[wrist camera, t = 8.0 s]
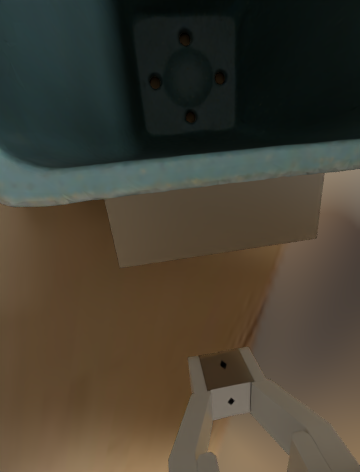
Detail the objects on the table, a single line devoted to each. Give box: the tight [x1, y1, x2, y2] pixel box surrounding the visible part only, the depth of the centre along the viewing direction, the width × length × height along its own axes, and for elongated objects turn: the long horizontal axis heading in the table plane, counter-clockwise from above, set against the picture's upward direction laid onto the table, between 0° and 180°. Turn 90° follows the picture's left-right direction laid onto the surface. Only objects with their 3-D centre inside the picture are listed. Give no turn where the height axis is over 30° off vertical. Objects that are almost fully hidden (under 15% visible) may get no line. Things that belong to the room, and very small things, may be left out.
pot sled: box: [104, 173, 324, 268], centre depth 7 cm, size 13×13×6 cm
